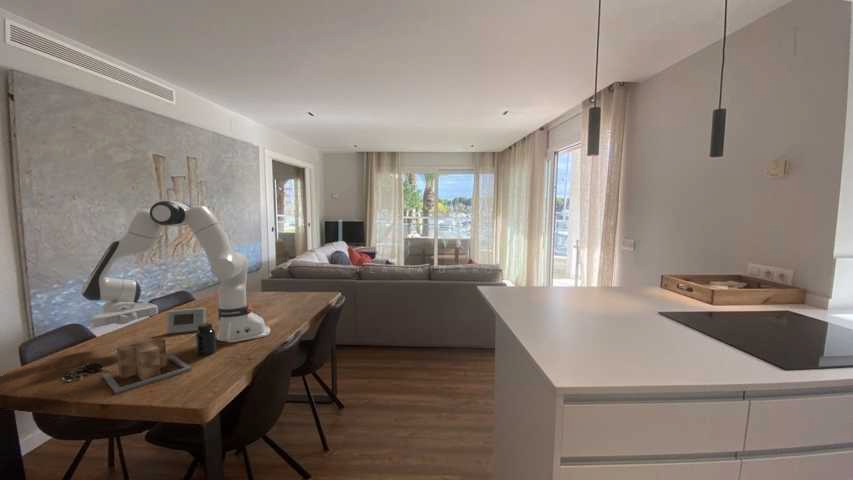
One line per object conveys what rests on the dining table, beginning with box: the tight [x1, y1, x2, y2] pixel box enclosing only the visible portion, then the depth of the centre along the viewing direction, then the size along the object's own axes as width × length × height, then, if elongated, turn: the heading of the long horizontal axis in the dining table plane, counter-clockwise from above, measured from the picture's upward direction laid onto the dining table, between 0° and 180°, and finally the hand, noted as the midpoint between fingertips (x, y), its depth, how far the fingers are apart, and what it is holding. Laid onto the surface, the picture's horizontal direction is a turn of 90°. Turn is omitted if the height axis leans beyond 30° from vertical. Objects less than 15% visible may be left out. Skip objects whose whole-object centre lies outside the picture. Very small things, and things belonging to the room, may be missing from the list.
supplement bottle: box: [195, 322, 217, 357], centre depth 142 cm, size 7×7×12 cm
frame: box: [102, 354, 192, 394], centre depth 124 cm, size 21×18×1 cm
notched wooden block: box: [116, 337, 168, 381], centre depth 124 cm, size 13×12×10 cm
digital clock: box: [165, 307, 207, 335], centre depth 170 cm, size 16×9×11 cm, turn 101°
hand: (131, 318), depth 136 cm, fingers closed
